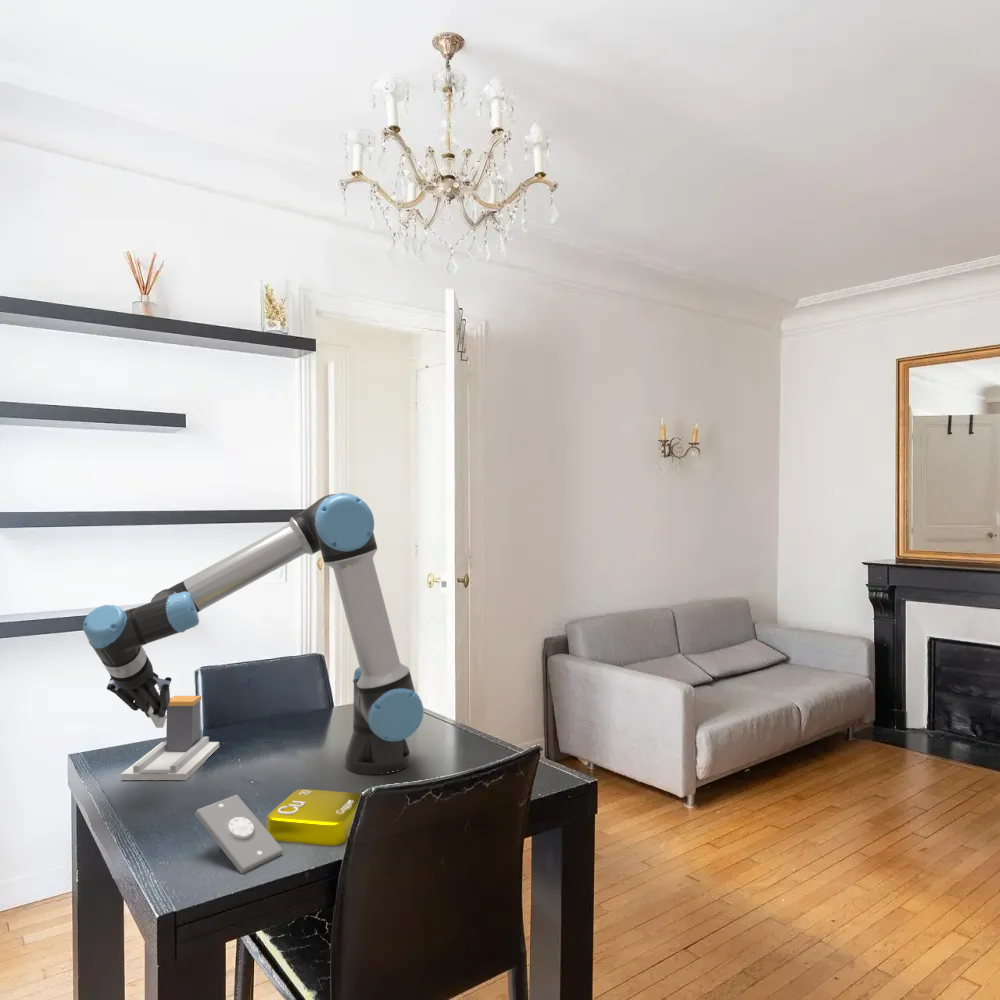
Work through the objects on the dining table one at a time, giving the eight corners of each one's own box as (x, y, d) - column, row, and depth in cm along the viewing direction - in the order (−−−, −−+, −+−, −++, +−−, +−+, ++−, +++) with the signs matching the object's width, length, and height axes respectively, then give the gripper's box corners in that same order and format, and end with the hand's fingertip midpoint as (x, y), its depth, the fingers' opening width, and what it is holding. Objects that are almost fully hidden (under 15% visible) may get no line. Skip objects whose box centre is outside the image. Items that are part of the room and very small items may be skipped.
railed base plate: (185, 780, 167) (186, 766, 167) (120, 780, 166) (121, 766, 166) (219, 748, 189) (219, 735, 189) (161, 747, 188) (162, 735, 188)
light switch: (245, 865, 126) (197, 805, 133) (233, 891, 127) (187, 831, 134) (285, 845, 133) (238, 790, 140) (274, 871, 134) (228, 814, 141)
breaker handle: (192, 751, 181) (193, 701, 181) (165, 751, 181) (165, 701, 181) (200, 744, 187) (201, 695, 187) (173, 744, 186) (174, 695, 186)
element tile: (340, 849, 136) (341, 822, 136) (262, 841, 139) (262, 815, 139) (368, 815, 151) (368, 790, 151) (297, 809, 154) (297, 785, 154)
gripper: (88, 679, 151) (126, 737, 168) (154, 680, 152) (186, 737, 168) (101, 647, 157) (137, 707, 173) (165, 648, 157) (195, 707, 174)
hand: (161, 722), depth 171 cm, fingers closed
